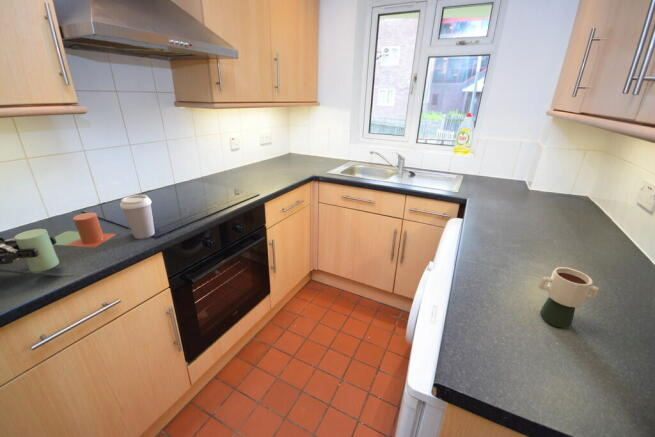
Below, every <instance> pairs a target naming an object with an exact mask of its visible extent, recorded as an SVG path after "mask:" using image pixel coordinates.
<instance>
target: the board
mask: <svg viewBox="0 0 655 437" xmlns="http://www.w3.org/2000/svg"><path fill="white" fill-rule="evenodd" d="M103 235H104V239H102V240H101V241H98V242H95V243H91V244H83V243H82V242H81V239H80V236H79V233H78V231H75V230H66V231H64V232H61V233H60V234H58V235H55V236H54V237H55V239H56V242H57V243H56V244H54V245H53V246H66V247H67V246H68V247H81V248H82V247H83V248H97V247H98V246H100V245H101V244H103V243H104V242H106V241H108V240H111V238H113V237H114V236H116V235H117V233H105V232H103Z"/></svg>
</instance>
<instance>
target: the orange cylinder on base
mask: <svg viewBox="0 0 655 437" xmlns="http://www.w3.org/2000/svg"><path fill="white" fill-rule="evenodd" d="M72 219H73V223H74V225H75V228H76V230H77V231H76V232H78V233H79V236H80V239H81V242H82V243H83V244H91V243H95V242H98V241H101V240H102V239H104V235H103V233H104V232H103V229H102V226H101V223H100V220H99V217H98V213H96V212H84V213H79V214H77V215H74V217H73V218H72Z"/></svg>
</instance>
